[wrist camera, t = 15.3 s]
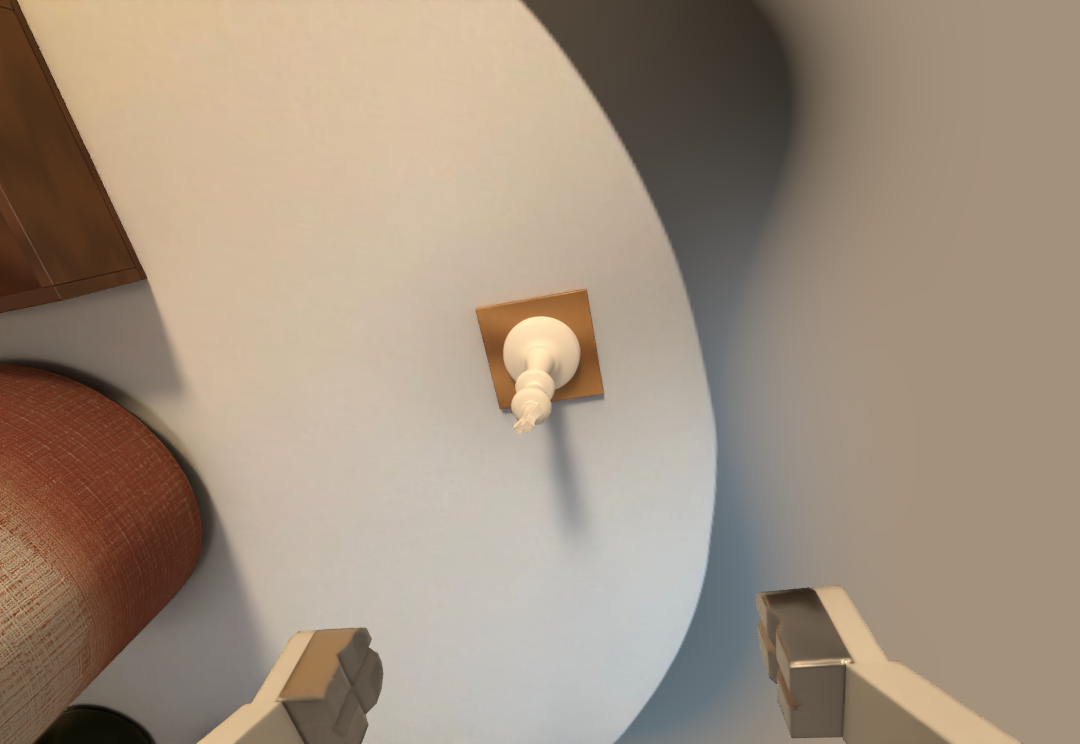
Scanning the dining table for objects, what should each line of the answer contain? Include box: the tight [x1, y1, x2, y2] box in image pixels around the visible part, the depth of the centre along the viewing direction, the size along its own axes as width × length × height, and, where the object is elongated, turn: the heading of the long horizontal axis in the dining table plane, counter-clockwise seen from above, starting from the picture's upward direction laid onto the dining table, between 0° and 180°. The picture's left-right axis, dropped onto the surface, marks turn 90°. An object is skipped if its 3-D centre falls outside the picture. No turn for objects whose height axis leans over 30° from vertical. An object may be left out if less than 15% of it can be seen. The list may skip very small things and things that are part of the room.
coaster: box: [476, 289, 603, 409], centre depth 33 cm, size 7×7×1 cm
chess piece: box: [503, 316, 580, 434], centre depth 28 cm, size 5×5×10 cm
